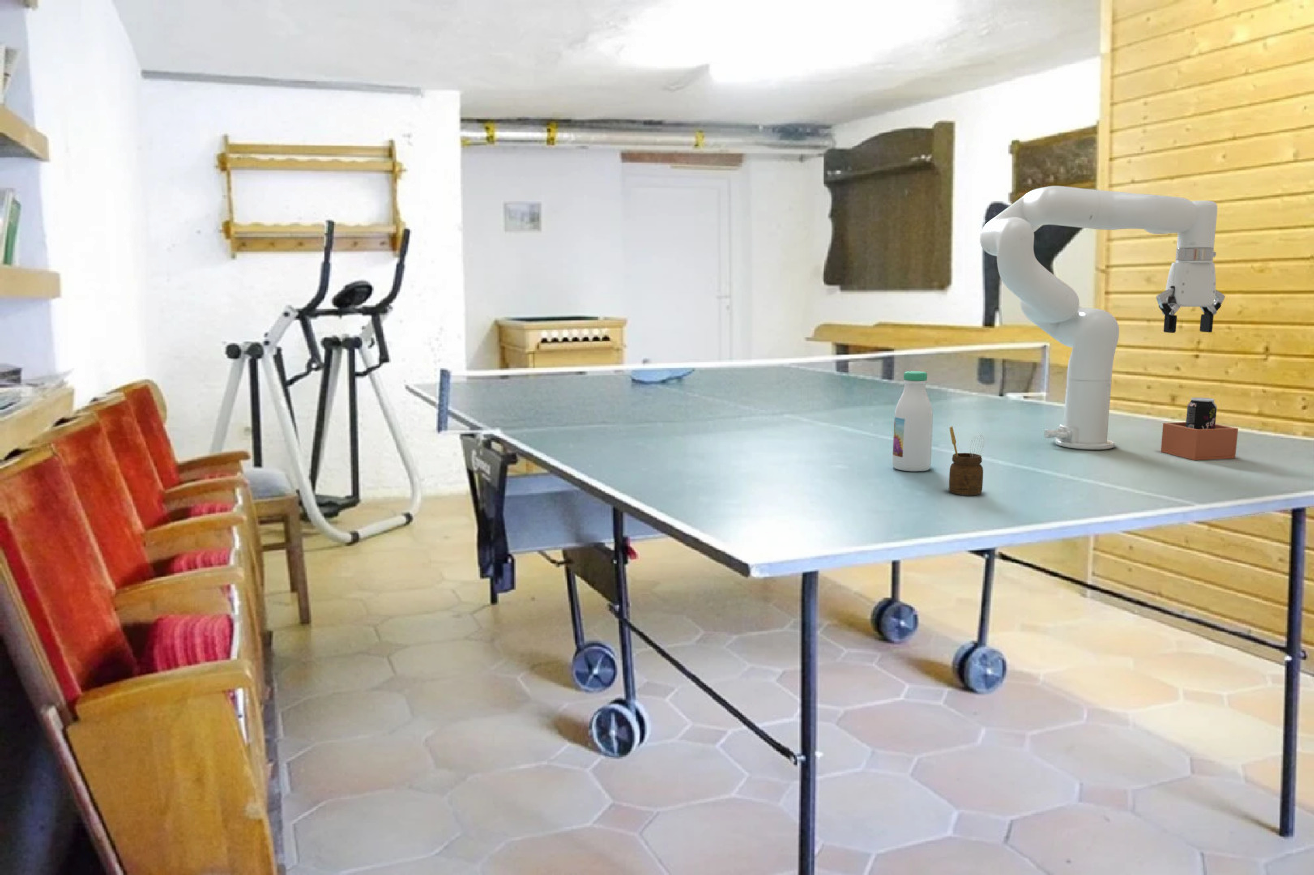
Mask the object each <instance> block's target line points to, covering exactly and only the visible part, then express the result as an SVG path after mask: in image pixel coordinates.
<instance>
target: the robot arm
mask: <svg viewBox="0 0 1314 875" xmlns="http://www.w3.org/2000/svg"><path fill="white" fill-rule="evenodd" d="M1217 204H1218V203H1216V202H1215V201H1213V200H1190V199H1188V198H1185V197H1180V196H1171V195H1161V194H1160V195H1158V194H1149V193H1148V194H1147V193H1133V192H1124V191H1115V190H1101V189H1091V188H1084V187H1083V188H1082V187H1074V186H1073V187H1072V186H1062V185H1050V186H1044V187H1043V186H1042V187H1039V188H1034V189H1032V190H1030V191H1028V192H1027V193H1025V194H1024V195H1023V196H1021V197H1020V198H1019V199H1017V200H1015V202H1013V203H1012V204H1011V205H1009V206H1008V207H1007V208H1005V209H1004V210H1002V211H1001V212H1000V213H998V214H997V215H996V216H995V217H993V218H992V219H990V220H989V221H988V222H987V223H986V224H985V225H984V226H983V227H982V230H981V232H980V235H979V243H980V247H981V248H982V249H983V250H984V252H985V253H987V254H988V255H991V256H993V257H996V263H997V270H998V271H997V272H998V275H999V277H1000V280H1001V281H1002V283H1003V284H1004V286H1005V287H1006V288H1007V289H1008V290H1009V292H1011V293H1013V294H1014V295H1015V296H1016V297H1017V298H1019V305H1020V309H1021V310H1022V313H1023V315H1024V316H1025V317H1026V318H1027V319H1028V320H1029V321H1030V322H1032V323H1033V324H1034V325H1036V327H1038V328H1040V330H1042V331H1044V333H1046V334H1047V335H1049V336H1050V337H1051V338H1053V339H1054V340H1055V341H1056V342H1058V343H1060V344H1061V345H1064V346H1066V347H1068V348H1072V349H1071V353H1070V355H1069V359H1068V363H1067V370H1066V384H1065V385H1066V386H1065V387H1066V388H1065V401H1064V415H1063V416H1064V417H1063V424H1059V426H1058V428H1056V429H1045V430H1044V434H1043V435H1044V437H1045V439H1055V445H1057V446H1059V447H1064V448H1069V449H1077V450H1093V451H1094V450H1096V451H1097V450H1109V449H1112V448H1114V447H1115V442H1114V441H1113V440H1111V439H1108V434H1109V421H1110V420H1109V419H1110V408H1111V407H1110V406H1111V395H1112V394H1111V392H1112V378H1113V366H1114V359H1115V354H1116V351H1117V350H1116V349H1117V347H1118V346H1117V345H1118V342H1119V338H1120V326H1119V324H1118V320H1117V319H1116V317H1114V315H1113V314H1111V313H1110V312H1108V311H1107V310H1104V309H1101V308H1090V307H1082V306H1080V299H1079V296H1078V294H1077V292H1076V291H1075V290H1074V289H1073V287H1071V286H1070V285H1068V283H1066V282H1064V281H1063V280H1061V279H1060V278H1059V277H1058V276H1056V275H1055V274H1053V272H1051V271H1049V270H1048V269H1047V268H1046V267H1045V266H1043V265H1042V264H1041V262H1039V260H1037V258H1036V255H1035V250H1034V242H1035V232H1037V230H1038V229H1040V228H1041V227H1042V226H1047V225H1048V226H1049V225H1051V226H1061V227H1063V226H1064V227H1072V228H1081V229H1090V230H1098V231H1099V230H1100V231H1101V230H1103V231H1116V230H1127V229H1128V230H1133V229H1134V230H1144V231H1145V232H1147V233H1149V234H1153V235H1167V234H1177V240H1176V241H1177V242H1176V251H1175V260H1174V262H1171V265H1170V268H1169V271H1168V275H1167V280H1166V285H1165V290H1164V291H1161V293H1159V294H1157V295H1156V297H1155V298H1156V302H1157V304H1158V308H1159V310H1160V311H1161V314H1162V315H1163V316H1164V318H1163V319H1164V320H1163V332H1164V333H1166V334H1167V333H1168V334H1175V333H1176V332H1177V321H1178V315H1177V314H1176V313H1177V312H1178V311H1179V309H1181V308H1182V307H1184V308H1195V307H1196V308H1198V307H1199V308H1200V309H1201V311H1202V313H1200V314H1201V315H1200V323H1199V331H1200V333H1212V332H1213V327H1214V316H1215V315H1217V313H1218V310H1219V309H1221V307H1222V304H1223V302H1224V300H1225V298H1226V295H1225V294H1223V293H1222V292H1220V291H1219V290H1217V288H1216V287H1217V286H1216V284H1217V281H1216V280H1217V278H1216V276H1217V275H1216V267H1215V262H1214V258H1215V257H1216V256H1217V252H1216V251H1215V242H1216V240H1215V239H1216V229H1217V227H1216V226H1217V217H1218V205H1217Z"/></svg>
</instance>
